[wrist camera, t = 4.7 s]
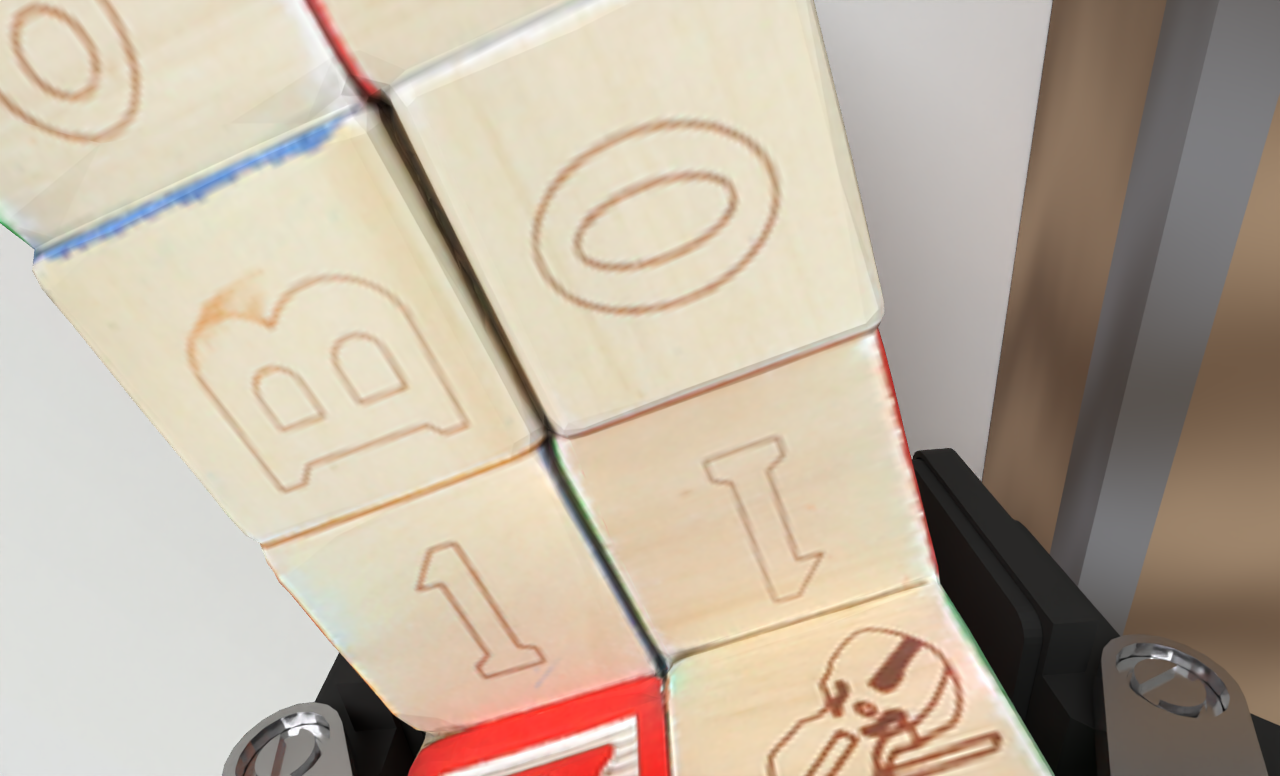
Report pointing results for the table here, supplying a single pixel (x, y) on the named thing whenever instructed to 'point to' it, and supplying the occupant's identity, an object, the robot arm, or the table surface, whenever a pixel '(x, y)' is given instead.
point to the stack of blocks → (519, 363)
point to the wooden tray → (1153, 326)
